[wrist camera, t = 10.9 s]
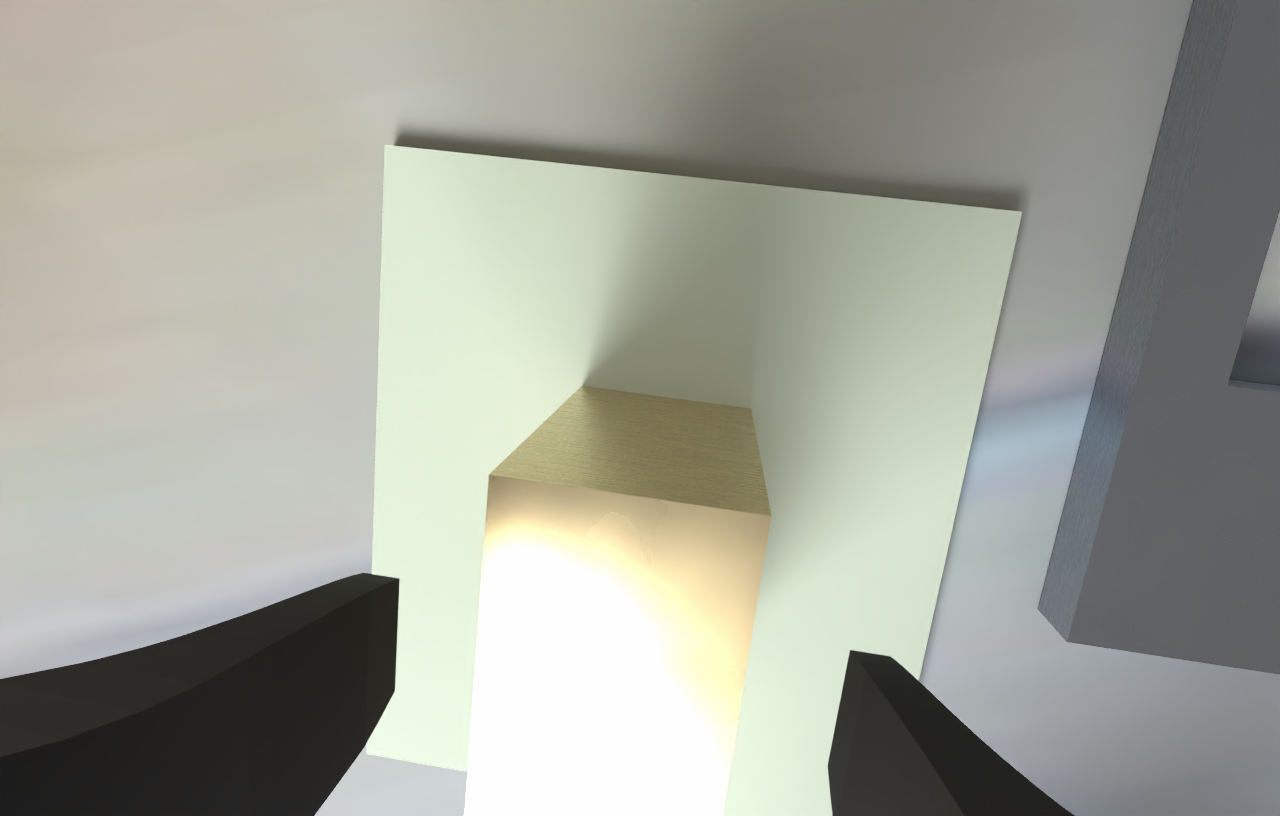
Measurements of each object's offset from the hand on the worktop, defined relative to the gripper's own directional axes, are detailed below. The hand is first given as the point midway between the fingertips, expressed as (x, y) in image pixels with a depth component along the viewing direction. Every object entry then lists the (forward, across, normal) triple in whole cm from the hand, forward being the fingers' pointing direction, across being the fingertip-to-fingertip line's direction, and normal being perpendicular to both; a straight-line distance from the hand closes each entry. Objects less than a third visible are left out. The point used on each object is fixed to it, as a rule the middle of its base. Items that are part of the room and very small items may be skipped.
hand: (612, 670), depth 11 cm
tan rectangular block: (+6, 0, 0) cm, 6 cm away
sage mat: (+7, 0, 0) cm, 7 cm away
